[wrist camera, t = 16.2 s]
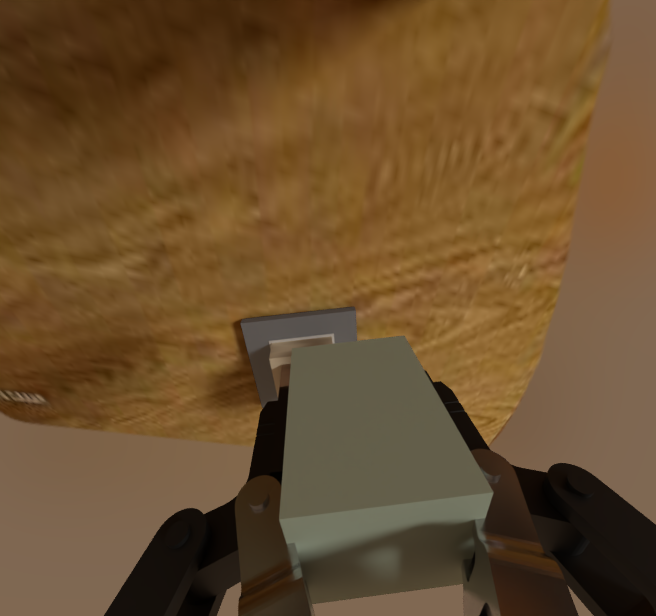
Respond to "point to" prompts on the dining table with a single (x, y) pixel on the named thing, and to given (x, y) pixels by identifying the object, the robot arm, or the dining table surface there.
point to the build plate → (291, 338)
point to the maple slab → (284, 351)
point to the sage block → (375, 474)
